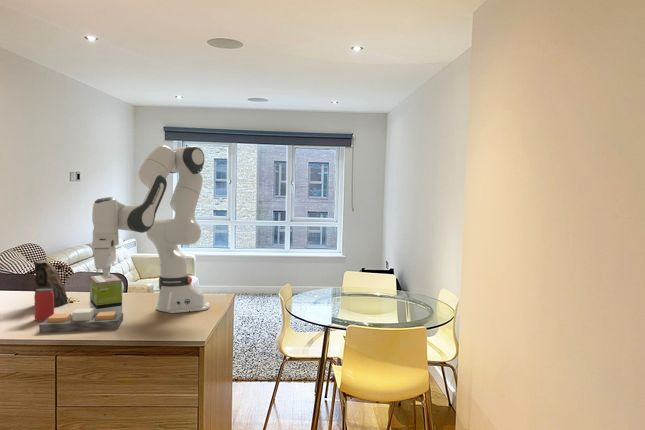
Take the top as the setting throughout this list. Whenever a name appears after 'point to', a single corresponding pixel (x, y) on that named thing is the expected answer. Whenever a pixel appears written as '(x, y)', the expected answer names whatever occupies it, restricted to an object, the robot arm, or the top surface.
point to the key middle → (83, 314)
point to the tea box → (106, 294)
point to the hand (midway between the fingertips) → (106, 276)
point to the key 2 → (106, 315)
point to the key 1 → (59, 317)
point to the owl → (50, 281)
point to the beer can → (44, 303)
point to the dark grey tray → (81, 325)
